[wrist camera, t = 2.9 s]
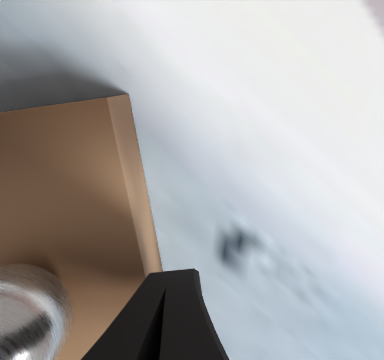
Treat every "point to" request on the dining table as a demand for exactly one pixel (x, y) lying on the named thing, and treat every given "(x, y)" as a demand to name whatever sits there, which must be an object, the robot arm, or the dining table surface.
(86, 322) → the brown wooden hole board
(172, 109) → the dining table surface
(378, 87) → the dining table surface
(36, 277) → the steel ball
